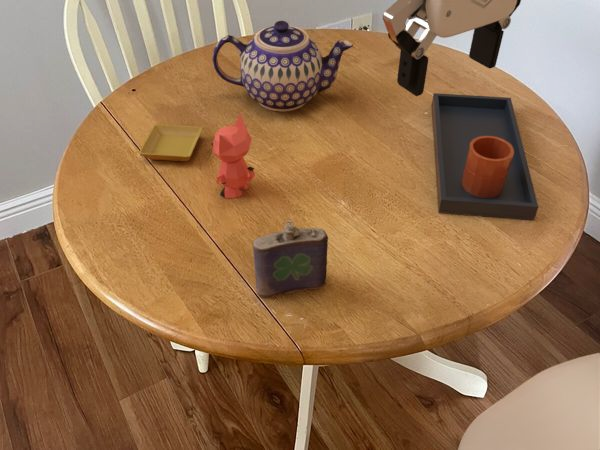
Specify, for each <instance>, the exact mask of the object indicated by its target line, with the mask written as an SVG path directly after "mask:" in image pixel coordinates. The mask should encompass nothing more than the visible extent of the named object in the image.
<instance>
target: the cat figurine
mask: <svg viewBox="0 0 600 450" xmlns="http://www.w3.org/2000/svg"><path fill="white" fill-rule="evenodd" d="M252 140H253V139H252V136H251V135H250V133H249V132H248V129H247V127H246V124H245V121H244V119H243V116H242V114H241V113H239V115H238V117H237V119H236V120H235V122H234V124H233V125H226V126H223V127H221V128H220V129H218V130H216V132H215V136H214V138H213V141H212V142H211V146H212V147H211V148H210V149H208V151H207V153H206V155H208V154H209V156H208V158H207V160H209V159H210V156H211V153H213V154H214V155H215V157H216V158H218V160H220V164H219V169H218V174H217V177H216V182H217V184H220V185H223V186H225V187H224V188H223V189H222V190H221V191H220V194H219V196H220V197H222V198H224V199H237V198H240V197H243V192H242V191H241V190H247V189H248V188H249V186H248V183H251V182H252V181H253V179H254V178H255V176H256V173H255V167H252V166H248V164H247V162H246V160H245V159H244V157H245V156H247V154H248V153H249V151H250V148H251V144H252Z"/></svg>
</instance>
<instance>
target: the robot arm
mask: <svg viewBox="0 0 600 450" xmlns="http://www.w3.org/2000/svg"><path fill="white" fill-rule="evenodd" d="M521 2H522V0H396V1H395V2H394V3H393V4H391V6H389V7H388V8H387V9H386V10H385V11H384V12H383V14H382V20H383V23H384V26H385V29H386V31H387V37H388V39H389V40H390V41H391V42H392V43H393V44H394V45H395V47H396V48H397V49H398V50H400V54H399V62H398V70H397V79H396V82H397V84H398V85H399V86H400V87H401V88H403V89H405V90H406V91H408V92H409V93H411V94H412V95H414V96H415V97H419V96H422V95H423V93H424V91H425V85H426V78H427V70H428V65H429V56H427V55H425V54H426V52H427V51H428V49H429V47H430V46H431V45H432V43H433V41H434V40H435V39H436V37H439V38H442V39H445V38H451V37H454V36H457V35H461V34H464V33H467V32H470V31H473V34H472V38H471V44H470V48H469V54H468V58H469V59H471V60H472V61H475V62H476V63H478V64H480V65H482V66H483V67H486V68H488V69H490V70H491V69H493V68H495V67H496V65H497V62H498V57H499V54H500V48H501V45H502V42H503V41H502V39H503V37H504V32H505V31H504V30H506V29H508V28H509V27H510V25H511V23H512V18H511V17H512V15H513V14H514V13H515V12H516V10H517V8H518V7H519V6H520V5H521ZM407 20H408V22H407ZM406 22H407V23H406ZM420 28H421V29H422V30H424V31H423V32H422V33H421V35H420V37H419V38H418V40H416V39H415V38H414V37H415V36H416V34H417V32H418V31H419V30H420ZM457 450H600V352H597V353H592V354H587V355H584V356H579V357H576V358H572V359H569V360H567V361H563V362H560V363H558V364H556V365H552V366H551V367H548V368H545V369H544V370H542V371H540V372H538V373H536V374H535V375H533V376H532V377H530V378H528V379H527V380H526V381H524V382H523V383H522V384H520V385H519V386H517V387H516V388H515V389H513V390H512V391H510V392H509V393H507V394H506V395H504V396H503V397H502V398H501V399H499V400H498V401H496V402H495V403H494V404H492V405H491V406H489V407H487V409H485V410H483V411H482V412H481V413H480V414H479V415H478V416H476V417H475V418H474V420H472V422H471V423H470V424H469V426H468V427H467V429H466V430H465V431H464V434H463V435H462V437H461V439H460V442H459V444H458V448H457Z"/></svg>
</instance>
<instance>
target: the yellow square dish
mask: <svg viewBox="0 0 600 450" xmlns="http://www.w3.org/2000/svg"><path fill="white" fill-rule="evenodd" d="M203 130H204V128H203V127H202V126H197V125H179V124H178V125H177V124H164V123H156V124H154V125H153V126H152V128H151V130H150V132H149V133H148V135H147V136H146V139H145V140H144V143H143V144H142V146H141V148H140V150H139V151H138V154H139V155H140V156H142V157H144V158H146V159H149V160H153V161H154V160H155V161H156V160H157V161H175V162H187V161H189V160H190V159H191V157H192V155H193V152H194V150H195V148H196V146H197V144H198V141H199V138H200V136H201V134H202V132H203Z"/></svg>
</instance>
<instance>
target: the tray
mask: <svg viewBox="0 0 600 450" xmlns="http://www.w3.org/2000/svg"><path fill="white" fill-rule="evenodd" d="M431 116H432V118H431V120H432V134H433V148H434V161H435V162H434V164H435V166H434V167H435V179H436V181H435V182H436V195H437V210H438V214H449V215H463V216H475V217H487V218H501V219H513V220H526V221H535V217H536V214H537V212H538V209H539V204H538V200H537V195H536V192H535V188H534V183H533V181H532V175H531V173H530V167H529V164H528V160H527V156H526V153H525V149H524V144H523V140H522V137H521V133H520V132H521V131H520V129H519V124H518V120H517V117H516V113H515V109H514V105H513V101H512V97H508V96H507V97H505V96H489V95H488V96H487V95H472V94H471V95H470V94H454V93H440V92H439V93H435V92H433V94H432V99H431ZM480 136H495V137H498V138H501V139H504V140H505V141H507V142H509V143H510V144H511V145H512V147H513V148H514V155H513V158H512V161H511V165H510V168H509V171H508V175H507V178H506V181H505V185H504V188H503V190H502V192H501V193H500V194H499V195H498V196H496V197H493V198H479V197H476V196H473V195H471V194H469V193H468V192H466V191H465V190H464V189H463V187H462V184H461V181H462V175H463V171H464V167H465V162H466V158H467V154H468V149H469V145H470V143H471V141H472V140H473V139H475V138H477V137H480Z"/></svg>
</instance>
